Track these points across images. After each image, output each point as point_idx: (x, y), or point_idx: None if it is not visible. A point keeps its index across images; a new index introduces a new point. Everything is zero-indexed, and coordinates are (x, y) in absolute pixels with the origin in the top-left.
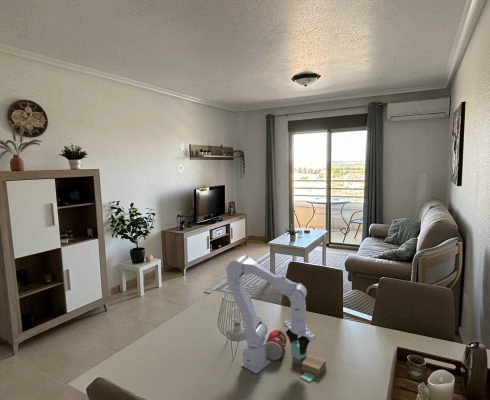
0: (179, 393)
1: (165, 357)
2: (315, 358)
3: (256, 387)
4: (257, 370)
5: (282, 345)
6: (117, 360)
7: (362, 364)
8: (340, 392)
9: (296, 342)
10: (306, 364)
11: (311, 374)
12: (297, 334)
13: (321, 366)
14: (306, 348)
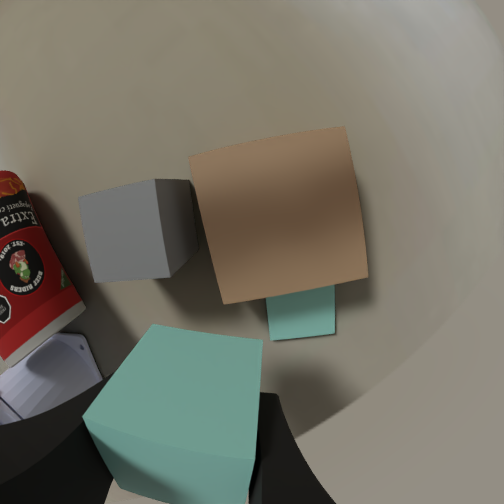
0: (115, 498)
1: None
2: (266, 169)
3: None
4: None
5: (30, 291)
6: None
7: (427, 8)
8: (469, 274)
9: (149, 482)
10: (262, 293)
11: None
12: (48, 475)
13: (361, 222)
14: (290, 437)
